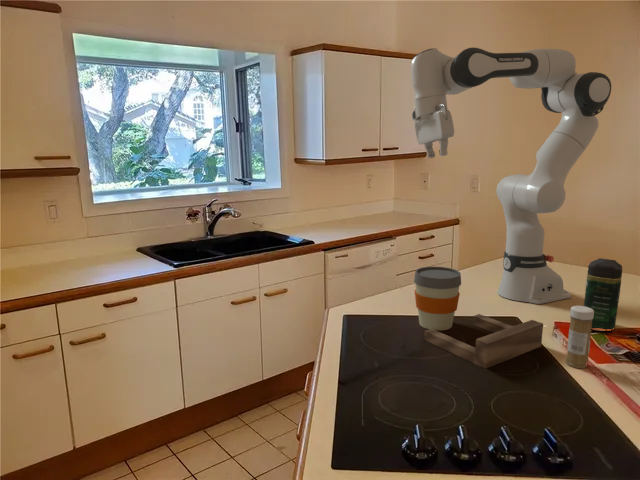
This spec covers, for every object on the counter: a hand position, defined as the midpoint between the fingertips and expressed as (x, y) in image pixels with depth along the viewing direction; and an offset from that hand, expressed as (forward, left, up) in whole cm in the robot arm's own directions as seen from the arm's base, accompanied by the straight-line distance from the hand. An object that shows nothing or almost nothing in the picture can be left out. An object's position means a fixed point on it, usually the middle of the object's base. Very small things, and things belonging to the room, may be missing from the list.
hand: (437, 156), depth 138 cm
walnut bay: (0, +29, -45) cm, 54 cm away
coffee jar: (-36, +27, -46) cm, 64 cm away
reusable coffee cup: (+6, +15, -46) cm, 48 cm away
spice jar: (-14, +45, -46) cm, 65 cm away
